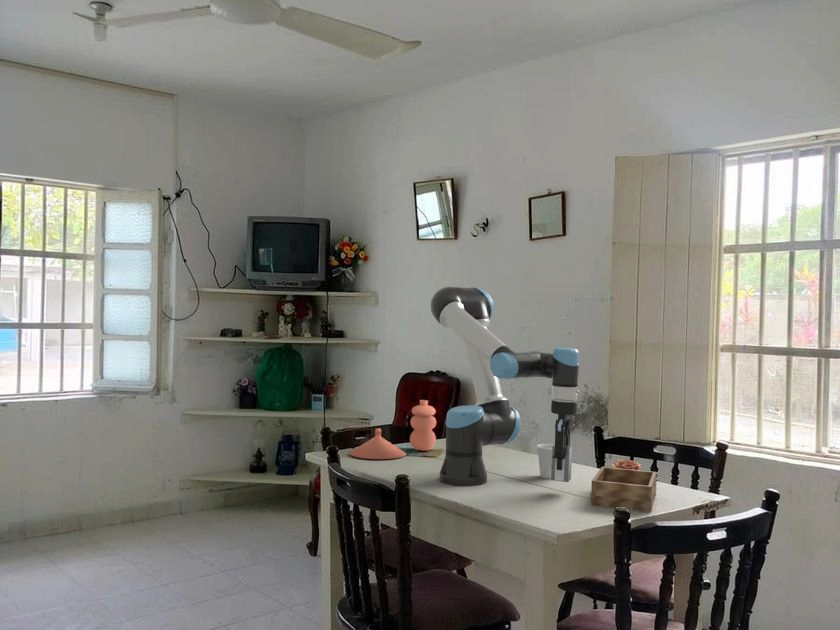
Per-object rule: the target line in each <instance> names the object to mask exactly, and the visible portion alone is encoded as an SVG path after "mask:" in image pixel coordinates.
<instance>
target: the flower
mask: <svg viewBox="0 0 840 630" xmlns="http://www.w3.org/2000/svg"><path fill="white" fill-rule="evenodd" d="M641 467H642V464H641V462H635V459H633V460H631V459H629V458H622V459H617V460H616V461H615V462H611V463H610V468H620V469H630V470H640V471H642V469H641Z"/></svg>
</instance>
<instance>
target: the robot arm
mask: <svg viewBox="0 0 840 630" xmlns="http://www.w3.org/2000/svg"><path fill="white" fill-rule="evenodd" d="M494 309H495V307H494V301H493V298H492V297H491V295H490V293H488V292H487V291H486V290H484V289H482V288H477V287H459V286H458V287H457V286H456V287H455V286H444V287H442V288H440V289H439V290H437V291H436V292H435V293H434V294H433V296H432V298H431V301H430V312H431V315H432V317H433V318H434V319H435V320H436V321H437V322H438V324H440V325H441V326H442V327H443V328H446V329H451V331H452V332H453V333H454V334H456V335H457V336H458V337H459V338H461V339H462V341H463V342H464V346H465V351H466V355H467V361H468V365H469V368H470V372H471V377H472V383H473V387H474V392H475V396H476V403H475V404H474V405H473V404H469V405H468V404H467V405H460V406H459V405H458V406H455V407H452V408H450V409H449V410H448V411H447V413H446V420H445V456H444V459H443V461H442V465H441V467H440V471H439V477H438V478H439V482H440V483H443V484H446V485H450V486H451V485H452V486H458V487H475V486H477V487H478V486H481V485H485V484H486V483H488V472H487V470H486V467H485V463H484V460H483V447H484V446H492V445H503V444H506V443H510V442H511V443H512V442H513V441H514V440H515V439H517V437H518V436H519V433H520V431H521V426H522V425H521V424H522V422H521V421H522V420H521V417H520V412H518V410H516V409H515V408H514V407H512V406H511V405H510V402H509V401H510V400H509V399H508V398H507V397H505V396H504V395H503V391H502V387H501V383H500V382H501V381H500V379H505V380H509V379H511V380H512V379H521V378H523V379H525V378H547V379H552V382H551V383H552V384H551V399H552V400H551V401H550V403H551V406H550V408H551V409H550V412H551V414H555V415H558V417H557V418H556V419H555V425H554V431H555V432H554V445H555V450H554V456H553V458H555V480H557V481H556V482H562V481H564V473H565V459H564V458H565V456H564V454H565V445H571V430H572V429H571V428H572V427H571V426H572V419H571V418H570V416H573V415H574V416H575V415H577V414H578V413H577V412H578V402H577V400H578V394H580V390H579V389H578V388H579V370H580V369H579V368H580V355H579V354H580V352H579V350H578V349H576V348H570V347H569V348H568V347H555V348H554V349H553V353H549V352H540V351H533V350H532V351H527V352H515V350H513V349H511V348H510V347H509V346H508V345H507V344H505V343H504V342H503V341H502V340H501V339H500V338H498V337H497V336H496V335H495V334H494V333H493V332H491V331H490V330H489V329H488V327H489V325H490V323H491V320H490V319H491V318H492V317H493V315H494V312H493V311H494ZM559 453H560V454H559Z"/></svg>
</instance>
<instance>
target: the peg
mask: <svg viewBox="0 0 840 630" xmlns="http://www.w3.org/2000/svg"><path fill="white" fill-rule="evenodd" d="M554 450H555V444H554V446H552V469H551V479H550V481H555V482H558V481H557V480H555V458H553V456H554ZM559 454H560V453H559ZM564 456H565V458H564V459H565V473H564V481H561V482H564V483H569V482H570V481H571V479H572V464H573V462H572V460H573V459H572V458H573V445H572V444H570V445H565V454H564Z"/></svg>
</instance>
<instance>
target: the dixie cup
mask: <svg viewBox="0 0 840 630" xmlns="http://www.w3.org/2000/svg"><path fill="white" fill-rule="evenodd" d="M554 445H555V443H541V444H537V445H536V447H537V455H538V456H537V457H538V465H539V466H538V468H539V477H540V478H542V479H549V480H551V469H552V446H554Z"/></svg>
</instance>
